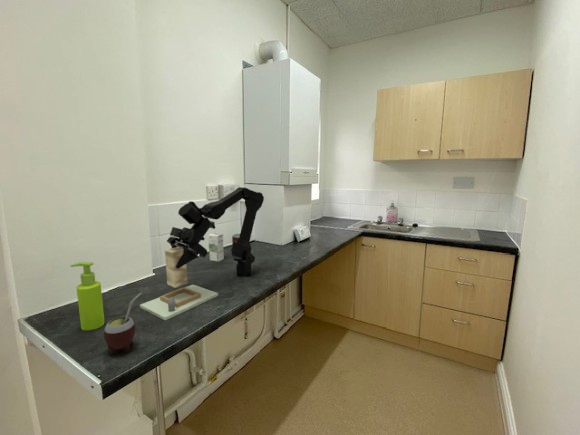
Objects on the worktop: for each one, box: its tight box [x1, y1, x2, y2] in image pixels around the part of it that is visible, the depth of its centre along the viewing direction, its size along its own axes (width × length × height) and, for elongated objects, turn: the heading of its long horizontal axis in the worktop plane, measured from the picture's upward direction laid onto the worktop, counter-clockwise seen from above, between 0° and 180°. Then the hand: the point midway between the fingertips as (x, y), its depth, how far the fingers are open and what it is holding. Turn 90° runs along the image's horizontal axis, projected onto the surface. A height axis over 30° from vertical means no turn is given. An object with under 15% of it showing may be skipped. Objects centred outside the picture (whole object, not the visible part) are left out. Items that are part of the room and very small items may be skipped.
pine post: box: [164, 247, 188, 288], centre depth 100 cm, size 5×5×13 cm
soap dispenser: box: [70, 261, 105, 332], centre depth 83 cm, size 6×7×20 cm
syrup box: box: [207, 232, 225, 263], centre depth 148 cm, size 6×6×14 cm
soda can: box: [231, 233, 240, 246], centre depth 157 cm, size 7×7×12 cm
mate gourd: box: [103, 292, 142, 357], centre depth 73 cm, size 8×8×15 cm
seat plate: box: [139, 284, 219, 321], centre depth 101 cm, size 22×15×5 cm
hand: (172, 266), depth 99 cm, fingers closed on pine post, 5 cm apart
